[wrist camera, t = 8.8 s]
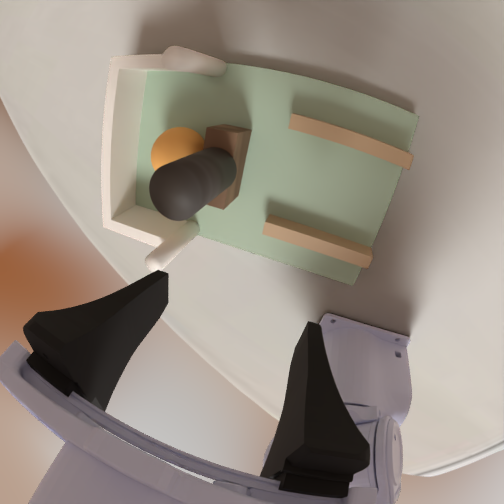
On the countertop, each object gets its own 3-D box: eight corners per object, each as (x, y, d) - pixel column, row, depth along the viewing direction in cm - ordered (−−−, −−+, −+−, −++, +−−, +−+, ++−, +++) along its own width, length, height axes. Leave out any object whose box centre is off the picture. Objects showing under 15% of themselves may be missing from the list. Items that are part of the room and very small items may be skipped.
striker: (257, 131, 18) (208, 146, 11) (243, 197, 20) (194, 247, 14) (219, 122, 18) (153, 136, 11) (208, 187, 21) (147, 231, 14)
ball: (145, 128, 15) (163, 121, 19) (140, 187, 17) (158, 170, 21) (207, 135, 16) (215, 127, 19) (198, 195, 18) (207, 177, 21)
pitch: (415, 113, 15) (454, 116, 9) (351, 281, 23) (352, 341, 17) (138, 58, 18) (78, 54, 12) (125, 207, 26) (76, 238, 20)
